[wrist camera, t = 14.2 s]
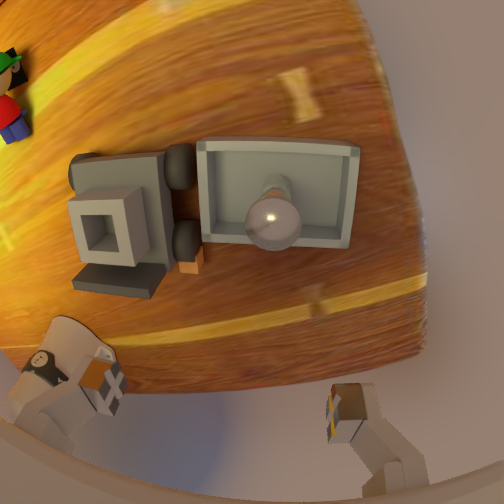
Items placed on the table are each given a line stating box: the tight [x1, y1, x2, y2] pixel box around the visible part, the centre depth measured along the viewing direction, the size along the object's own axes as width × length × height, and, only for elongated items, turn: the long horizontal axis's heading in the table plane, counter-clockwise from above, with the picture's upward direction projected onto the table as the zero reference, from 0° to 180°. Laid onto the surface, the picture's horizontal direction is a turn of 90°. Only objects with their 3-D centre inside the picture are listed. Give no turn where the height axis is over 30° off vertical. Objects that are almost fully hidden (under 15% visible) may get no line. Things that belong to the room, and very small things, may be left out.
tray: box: [196, 136, 361, 249], centre depth 32 cm, size 11×16×4 cm
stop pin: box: [245, 173, 302, 251], centre depth 28 cm, size 4×4×11 cm
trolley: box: [67, 144, 204, 299], centre depth 31 cm, size 16×15×12 cm
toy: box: [0, 47, 31, 144], centre depth 26 cm, size 8×8×15 cm
